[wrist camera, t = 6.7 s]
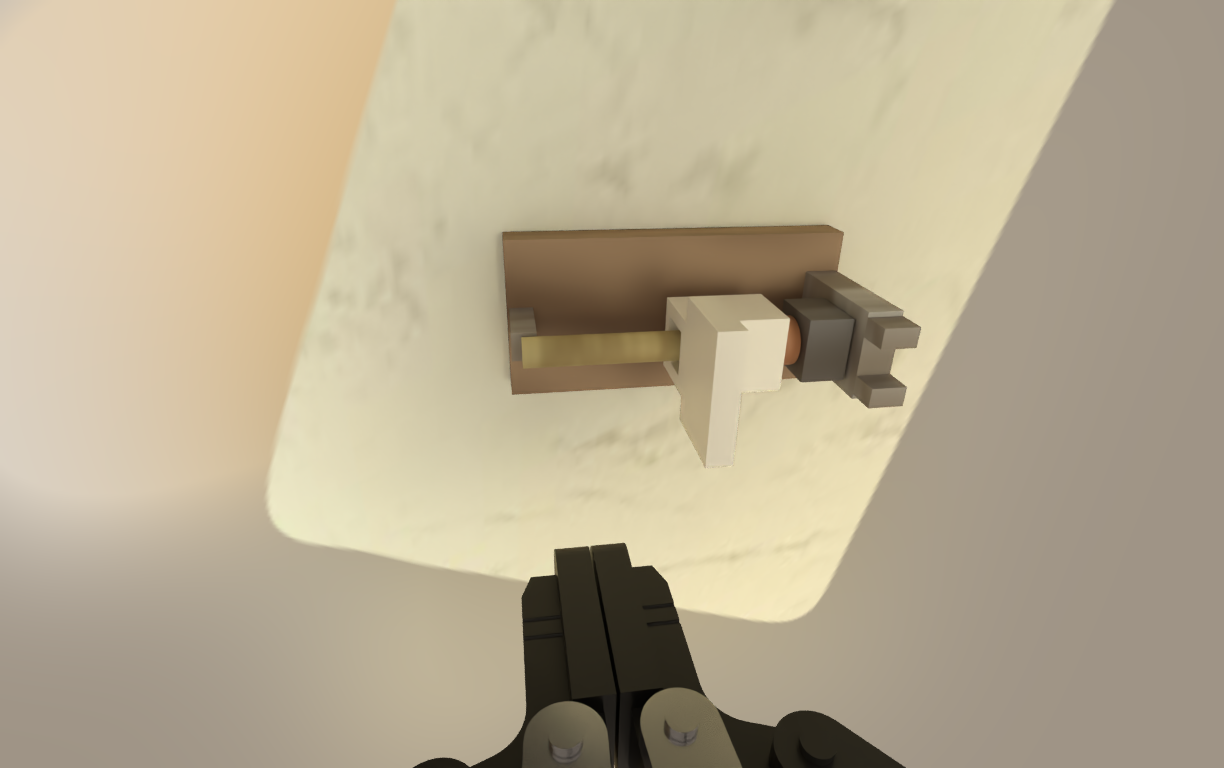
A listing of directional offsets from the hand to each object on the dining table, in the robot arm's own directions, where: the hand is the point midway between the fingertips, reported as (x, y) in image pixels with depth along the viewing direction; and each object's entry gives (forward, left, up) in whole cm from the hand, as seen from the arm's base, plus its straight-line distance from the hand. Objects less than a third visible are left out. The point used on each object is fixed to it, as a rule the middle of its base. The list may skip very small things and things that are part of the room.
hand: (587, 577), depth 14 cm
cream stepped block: (0, +7, -14) cm, 16 cm away
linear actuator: (0, +6, -18) cm, 18 cm away
